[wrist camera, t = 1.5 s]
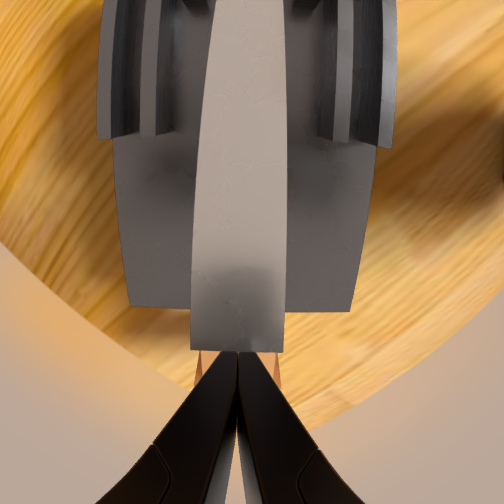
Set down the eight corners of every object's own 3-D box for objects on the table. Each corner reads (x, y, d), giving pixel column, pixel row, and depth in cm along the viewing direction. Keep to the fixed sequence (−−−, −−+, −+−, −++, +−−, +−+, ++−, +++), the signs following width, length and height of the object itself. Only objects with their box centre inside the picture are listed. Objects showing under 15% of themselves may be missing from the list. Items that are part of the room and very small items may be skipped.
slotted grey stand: (355, -4, 13) (400, -46, 7) (333, 277, 21) (362, 340, 15) (147, -11, 13) (105, -56, 7) (148, 272, 20) (115, 333, 14)
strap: (218, -17, 10) (217, -33, 9) (282, -15, 10) (285, -31, 9) (190, 342, 9) (184, 350, 8) (284, 345, 9) (289, 353, 8)
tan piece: (276, 263, 20) (288, 334, 14) (270, 330, 22) (278, 407, 16) (205, 261, 20) (188, 331, 14) (207, 328, 22) (196, 405, 16)
